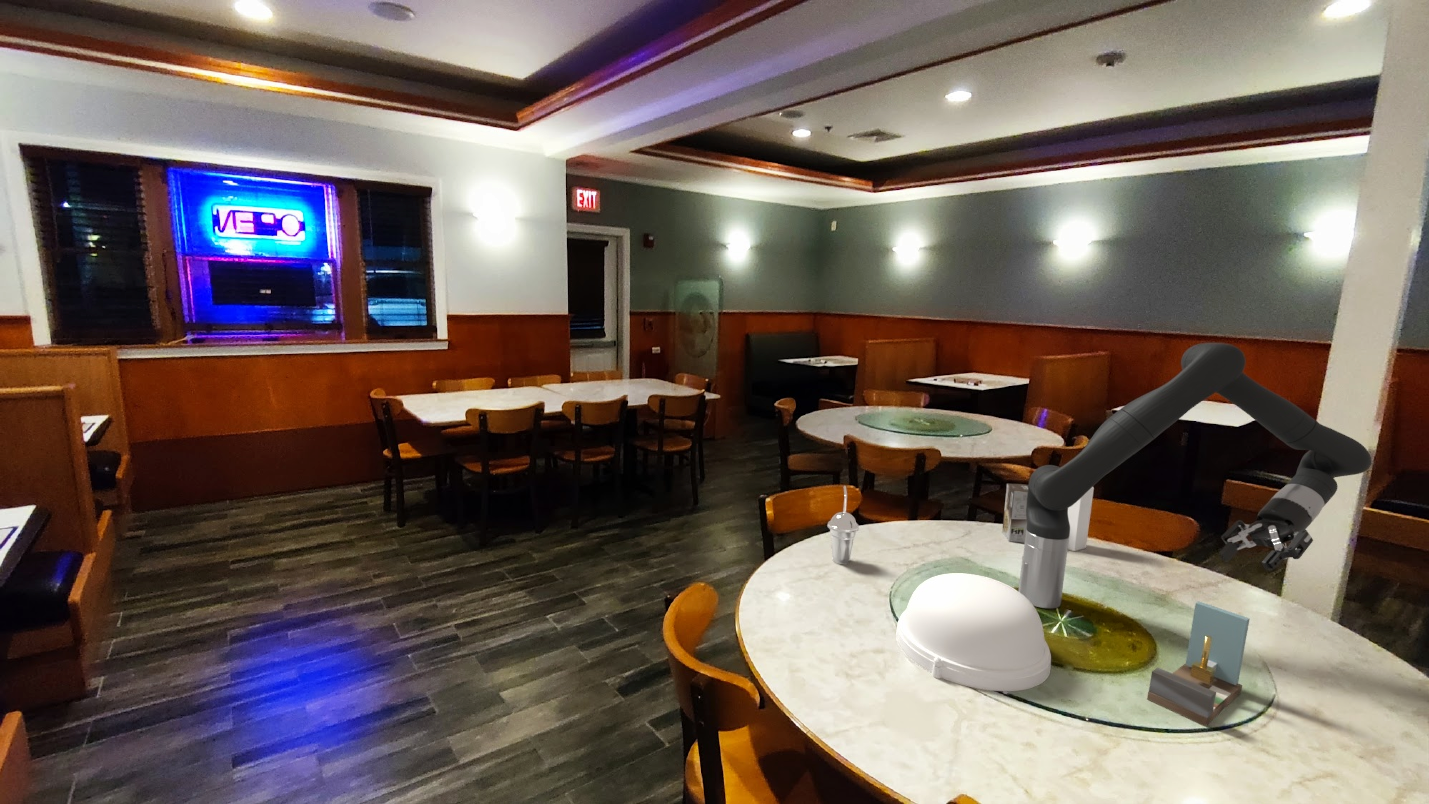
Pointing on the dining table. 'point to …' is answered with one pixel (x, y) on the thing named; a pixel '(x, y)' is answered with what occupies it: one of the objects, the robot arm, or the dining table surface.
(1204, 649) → the gold upright bar
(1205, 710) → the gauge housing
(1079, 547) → the milk
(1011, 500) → the coffee box
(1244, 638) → the blue-grey rectangular panel
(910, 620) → the dome cover
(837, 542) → the cup with straw
